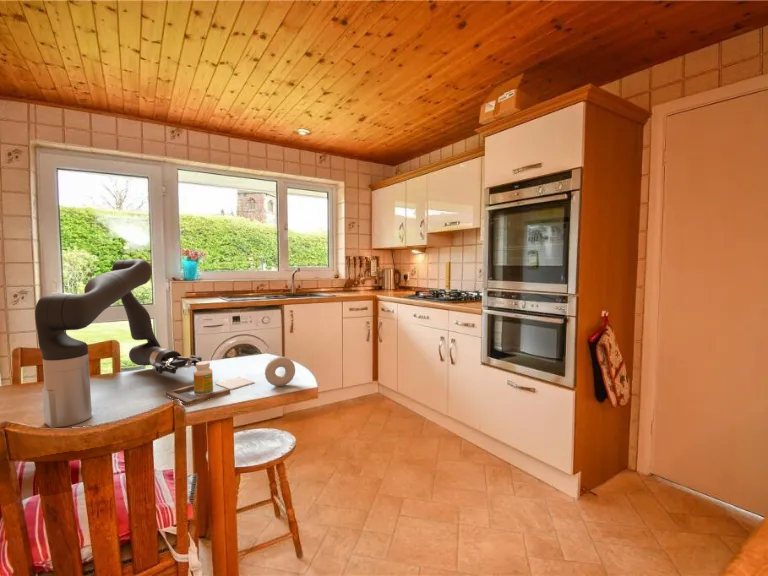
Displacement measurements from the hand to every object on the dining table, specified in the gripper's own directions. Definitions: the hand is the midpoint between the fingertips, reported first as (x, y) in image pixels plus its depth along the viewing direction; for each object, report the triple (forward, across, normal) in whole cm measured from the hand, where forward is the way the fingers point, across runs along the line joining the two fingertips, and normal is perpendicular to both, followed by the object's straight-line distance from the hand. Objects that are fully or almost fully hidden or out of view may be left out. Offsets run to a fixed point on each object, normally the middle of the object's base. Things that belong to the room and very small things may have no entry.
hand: (188, 367), depth 128 cm
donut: (+23, +19, +7) cm, 31 cm away
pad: (+9, +11, +6) cm, 16 cm away
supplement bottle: (+9, 0, +7) cm, 11 cm away
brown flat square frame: (+9, -1, +6) cm, 11 cm away
